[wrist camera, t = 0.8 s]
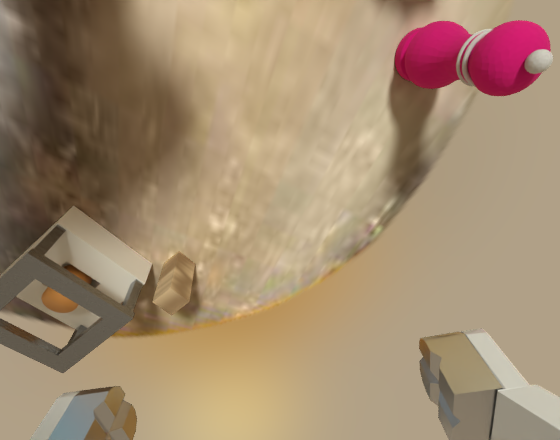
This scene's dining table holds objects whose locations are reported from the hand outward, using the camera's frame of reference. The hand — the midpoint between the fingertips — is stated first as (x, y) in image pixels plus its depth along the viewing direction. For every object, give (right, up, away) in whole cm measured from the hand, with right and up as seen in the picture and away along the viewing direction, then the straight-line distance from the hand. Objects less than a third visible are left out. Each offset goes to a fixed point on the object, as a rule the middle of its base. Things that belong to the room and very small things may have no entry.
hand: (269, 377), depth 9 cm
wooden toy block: (-16, -3, +44) cm, 47 cm away
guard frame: (-29, -5, +37) cm, 48 cm away
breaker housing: (-30, -2, +41) cm, 51 cm away
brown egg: (-30, -4, +38) cm, 49 cm away
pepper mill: (+18, +26, +34) cm, 47 cm away
